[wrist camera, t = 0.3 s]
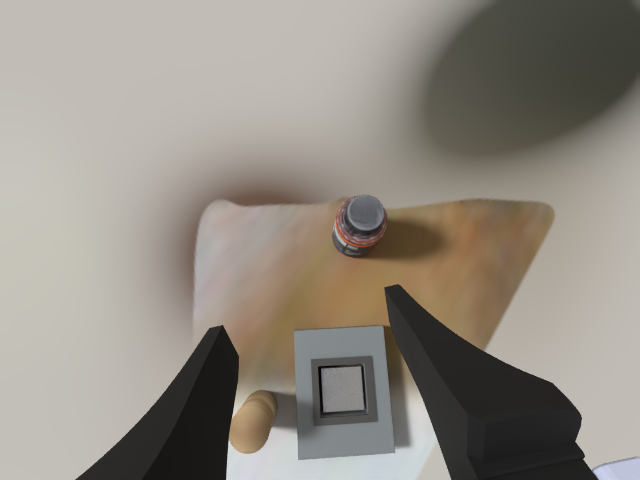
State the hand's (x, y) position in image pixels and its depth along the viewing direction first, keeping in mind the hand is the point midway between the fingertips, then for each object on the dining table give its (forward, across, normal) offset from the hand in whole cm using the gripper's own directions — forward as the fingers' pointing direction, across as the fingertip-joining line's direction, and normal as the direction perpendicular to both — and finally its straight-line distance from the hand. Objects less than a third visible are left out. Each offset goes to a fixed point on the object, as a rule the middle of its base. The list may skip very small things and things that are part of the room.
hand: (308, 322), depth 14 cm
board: (+15, +1, +26) cm, 30 cm away
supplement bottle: (+28, -5, +13) cm, 31 cm away
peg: (+14, +11, +26) cm, 31 cm away
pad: (+14, +1, +25) cm, 29 cm away
